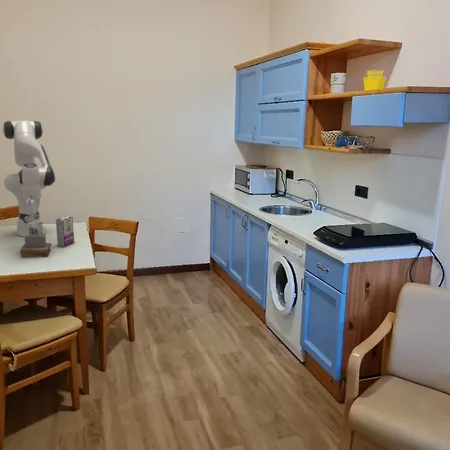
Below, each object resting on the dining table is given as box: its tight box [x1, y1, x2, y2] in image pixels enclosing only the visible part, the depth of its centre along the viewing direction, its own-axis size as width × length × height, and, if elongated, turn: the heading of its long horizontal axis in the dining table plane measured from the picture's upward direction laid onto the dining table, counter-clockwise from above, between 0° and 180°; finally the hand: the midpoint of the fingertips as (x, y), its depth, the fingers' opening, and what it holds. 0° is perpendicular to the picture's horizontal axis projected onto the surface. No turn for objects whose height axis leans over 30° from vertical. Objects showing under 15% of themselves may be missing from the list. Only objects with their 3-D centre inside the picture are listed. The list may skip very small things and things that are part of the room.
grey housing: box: [24, 234, 47, 248], centre depth 258 cm, size 10×4×6 cm, turn 103°
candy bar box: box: [55, 215, 75, 248], centre depth 277 cm, size 11×5×16 cm, turn 168°
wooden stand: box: [19, 242, 52, 259], centre depth 260 cm, size 14×14×4 cm
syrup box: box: [28, 221, 44, 235], centre depth 273 cm, size 6×6×14 cm
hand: (33, 219), depth 256 cm, fingers open, 8 cm apart
